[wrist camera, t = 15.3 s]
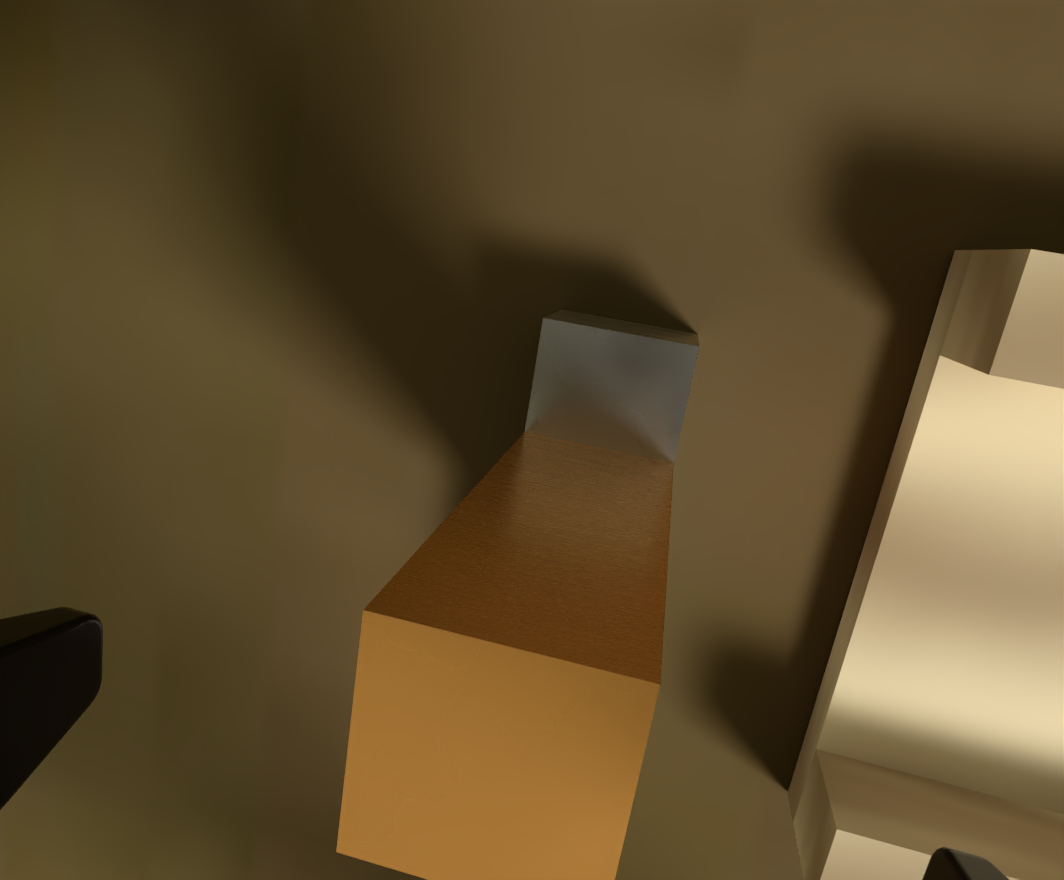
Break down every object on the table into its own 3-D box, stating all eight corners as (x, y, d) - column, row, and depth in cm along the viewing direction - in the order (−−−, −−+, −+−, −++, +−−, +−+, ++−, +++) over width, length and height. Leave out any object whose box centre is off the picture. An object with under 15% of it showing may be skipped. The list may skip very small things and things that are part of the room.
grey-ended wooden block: (630, 643, 19) (565, 1090, 9) (511, 614, 19) (318, 1008, 9) (697, 333, 17) (714, 455, 7) (562, 309, 17) (387, 387, 7)
